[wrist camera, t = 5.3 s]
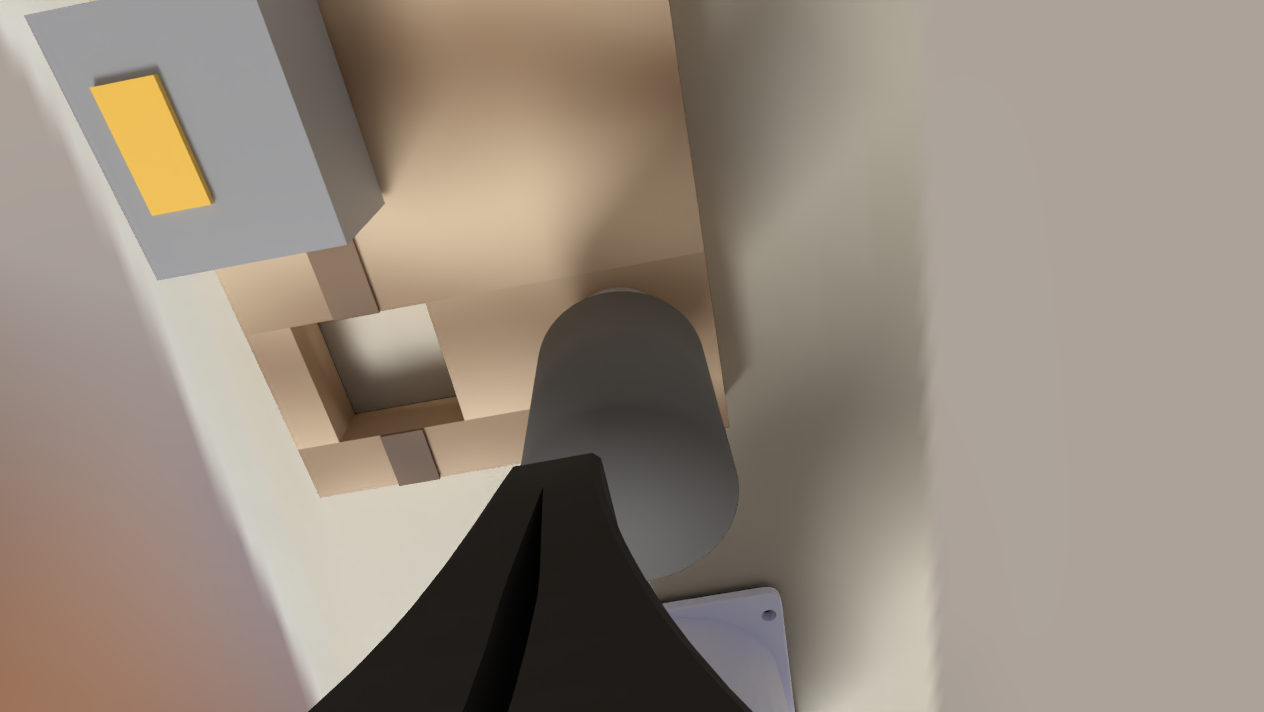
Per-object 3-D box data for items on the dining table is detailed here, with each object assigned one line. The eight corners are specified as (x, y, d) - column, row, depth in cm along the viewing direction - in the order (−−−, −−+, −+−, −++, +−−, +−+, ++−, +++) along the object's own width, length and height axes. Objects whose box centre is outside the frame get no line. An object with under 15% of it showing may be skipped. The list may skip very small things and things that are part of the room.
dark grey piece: (705, 384, 21) (750, 564, 14) (561, 409, 21) (545, 597, 15) (683, 247, 19) (724, 385, 13) (526, 276, 19) (490, 426, 13)
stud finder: (385, 203, 18) (345, 247, 15) (223, 234, 18) (153, 283, 15) (305, -31, 16) (241, -31, 13) (122, 7, 16) (18, 15, 13)
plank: (721, 400, 23) (730, 428, 21) (336, 467, 23) (319, 499, 22) (633, -205, 16) (637, -223, 14) (91, -89, 16) (42, -95, 15)
